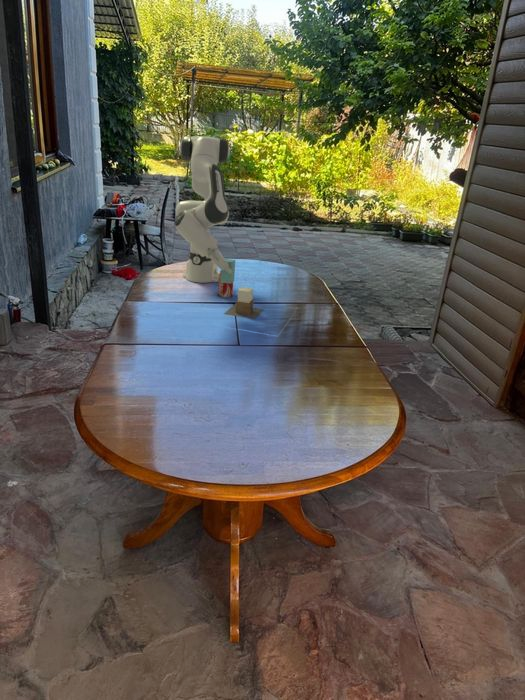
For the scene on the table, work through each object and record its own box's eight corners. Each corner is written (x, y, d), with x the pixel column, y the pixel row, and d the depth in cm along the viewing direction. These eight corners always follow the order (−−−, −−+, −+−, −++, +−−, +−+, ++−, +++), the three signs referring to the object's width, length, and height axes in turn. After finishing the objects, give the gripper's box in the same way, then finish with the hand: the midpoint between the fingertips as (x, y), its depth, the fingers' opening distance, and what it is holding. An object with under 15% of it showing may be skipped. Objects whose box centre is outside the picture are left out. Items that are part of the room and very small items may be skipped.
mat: (234, 305, 230) (234, 304, 230) (264, 310, 227) (264, 309, 227) (223, 314, 218) (223, 313, 218) (255, 320, 215) (255, 319, 215)
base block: (239, 308, 226) (240, 297, 224) (252, 310, 224) (253, 299, 222) (235, 312, 220) (236, 301, 218) (248, 314, 219) (249, 303, 217)
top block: (241, 298, 223) (242, 287, 221) (252, 299, 222) (253, 288, 220) (237, 301, 219) (238, 290, 217) (248, 303, 218) (249, 291, 216)
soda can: (231, 299, 238) (233, 274, 233) (216, 298, 238) (217, 273, 233) (233, 294, 244) (234, 270, 239) (218, 293, 244) (219, 269, 239)
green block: (224, 279, 217) (225, 258, 214) (234, 280, 216) (235, 260, 213) (220, 282, 213) (221, 260, 210) (230, 283, 212) (231, 262, 209)
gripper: (216, 246, 197) (240, 271, 204) (208, 235, 215) (230, 258, 222) (204, 257, 198) (228, 282, 204) (197, 245, 216) (219, 268, 222)
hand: (229, 270), depth 213 cm, fingers closed on green block, 6 cm apart
